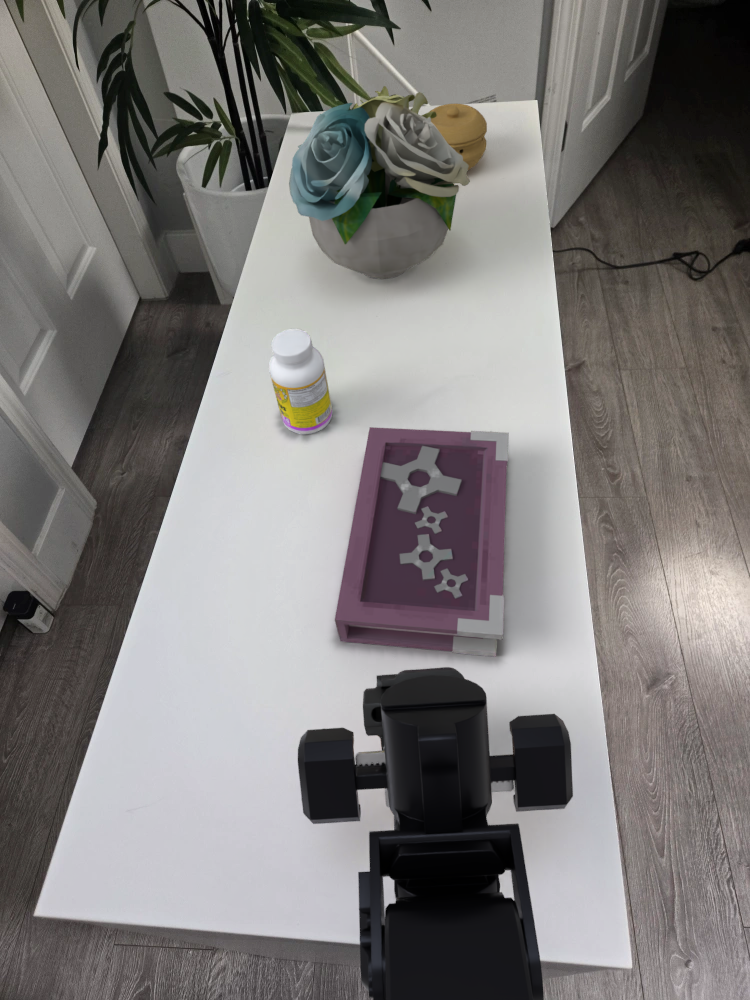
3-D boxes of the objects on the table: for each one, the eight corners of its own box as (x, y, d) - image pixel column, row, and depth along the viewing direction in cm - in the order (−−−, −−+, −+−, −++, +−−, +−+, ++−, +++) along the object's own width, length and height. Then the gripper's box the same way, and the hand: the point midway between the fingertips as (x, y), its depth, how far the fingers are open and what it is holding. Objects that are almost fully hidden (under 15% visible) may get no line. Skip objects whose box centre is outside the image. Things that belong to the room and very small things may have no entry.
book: (499, 657, 71) (503, 635, 66) (340, 642, 73) (334, 620, 69) (505, 460, 85) (508, 432, 81) (372, 453, 87) (369, 425, 83)
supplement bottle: (281, 402, 94) (262, 326, 84) (331, 395, 94) (317, 318, 84) (283, 440, 90) (262, 364, 80) (335, 433, 90) (321, 357, 80)
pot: (429, 189, 121) (428, 130, 113) (411, 155, 128) (409, 98, 120) (494, 175, 122) (498, 116, 114) (473, 143, 129) (475, 85, 121)
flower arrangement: (470, 311, 102) (477, 142, 82) (298, 319, 104) (264, 155, 84) (461, 213, 116) (465, 49, 97) (311, 221, 118) (285, 62, 99)
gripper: (593, 698, 41) (538, 612, 56) (273, 719, 42) (305, 628, 57) (599, 871, 43) (544, 742, 58) (292, 888, 44) (318, 756, 59)
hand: (428, 714), depth 58 cm, fingers closed, pressing on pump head
